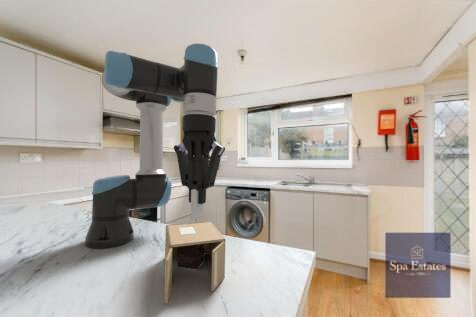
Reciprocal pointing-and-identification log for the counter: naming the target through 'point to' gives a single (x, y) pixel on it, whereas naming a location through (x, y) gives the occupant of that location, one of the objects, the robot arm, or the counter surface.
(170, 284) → the flap near
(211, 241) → the carton
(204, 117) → the robot arm
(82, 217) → the counter surface
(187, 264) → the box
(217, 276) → the flap far
